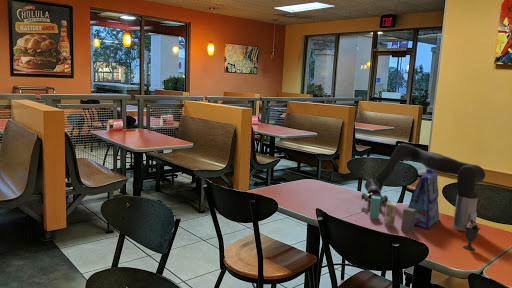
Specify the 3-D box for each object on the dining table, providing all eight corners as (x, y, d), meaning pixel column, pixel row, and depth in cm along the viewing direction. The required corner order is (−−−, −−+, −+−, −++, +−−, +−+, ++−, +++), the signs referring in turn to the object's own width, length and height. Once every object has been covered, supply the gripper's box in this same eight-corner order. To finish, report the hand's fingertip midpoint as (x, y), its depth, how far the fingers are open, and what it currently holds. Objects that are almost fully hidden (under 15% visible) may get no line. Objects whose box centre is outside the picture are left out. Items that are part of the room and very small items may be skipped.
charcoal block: (413, 230, 202) (416, 209, 200) (410, 233, 198) (412, 211, 197) (404, 228, 205) (406, 207, 203) (400, 230, 201) (403, 209, 199)
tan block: (393, 223, 210) (395, 203, 209) (393, 226, 206) (396, 205, 204) (384, 222, 212) (386, 201, 210) (384, 225, 207) (386, 204, 205)
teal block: (378, 216, 220) (380, 196, 219) (378, 219, 216) (380, 199, 214) (369, 215, 221) (371, 195, 220) (369, 217, 217) (371, 197, 215)
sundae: (462, 244, 189) (467, 212, 186) (478, 248, 185) (483, 216, 182) (458, 248, 184) (463, 216, 181) (475, 252, 179) (480, 220, 177)
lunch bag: (429, 230, 205) (436, 174, 200) (401, 222, 213) (408, 168, 208) (439, 219, 222) (447, 167, 217) (414, 213, 230) (420, 163, 225)
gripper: (362, 185, 243) (362, 192, 227) (387, 188, 240) (389, 196, 224) (361, 198, 244) (360, 205, 229) (385, 201, 241) (387, 209, 225)
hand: (374, 201), depth 226 cm, fingers open, 8 cm apart
